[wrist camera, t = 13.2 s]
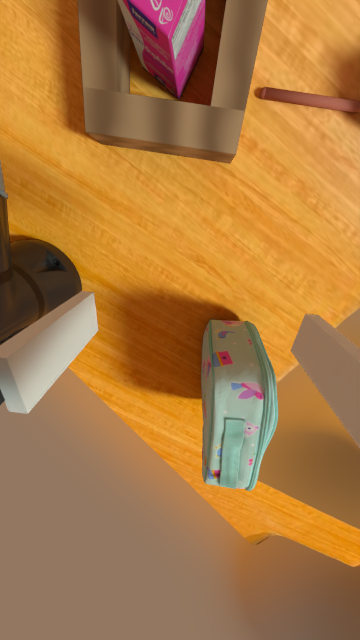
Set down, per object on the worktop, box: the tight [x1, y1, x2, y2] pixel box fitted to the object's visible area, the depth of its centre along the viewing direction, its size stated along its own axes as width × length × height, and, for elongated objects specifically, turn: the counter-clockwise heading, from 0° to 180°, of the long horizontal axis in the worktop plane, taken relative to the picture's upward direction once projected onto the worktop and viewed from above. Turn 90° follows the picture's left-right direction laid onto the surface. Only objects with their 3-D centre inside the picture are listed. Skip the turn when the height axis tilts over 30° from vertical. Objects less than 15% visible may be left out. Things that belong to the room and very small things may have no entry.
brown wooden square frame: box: [78, 0, 268, 163], centre depth 23 cm, size 19×19×5 cm
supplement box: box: [118, 0, 205, 99], centre depth 21 cm, size 6×6×12 cm
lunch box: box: [201, 319, 278, 491], centre depth 37 cm, size 27×10×21 cm, turn 2°
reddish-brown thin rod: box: [260, 87, 360, 113], centre depth 26 cm, size 13×1×1 cm, turn 82°
